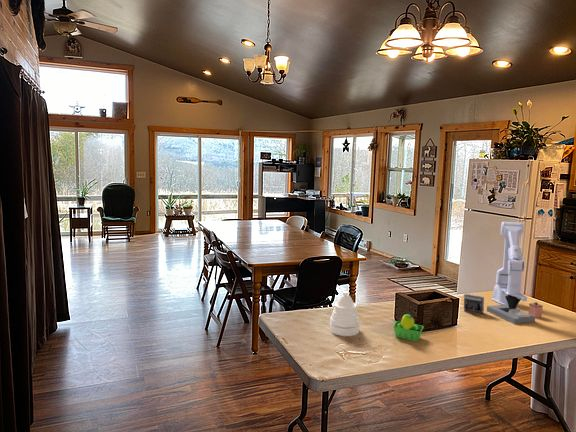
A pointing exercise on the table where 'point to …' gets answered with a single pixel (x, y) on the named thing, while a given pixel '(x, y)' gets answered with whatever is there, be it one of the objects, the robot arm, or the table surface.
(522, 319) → the socket plate
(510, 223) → the robot arm
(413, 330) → the fruit basket
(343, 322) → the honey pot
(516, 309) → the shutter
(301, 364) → the table surface
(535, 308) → the plug
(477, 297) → the electrical switch
